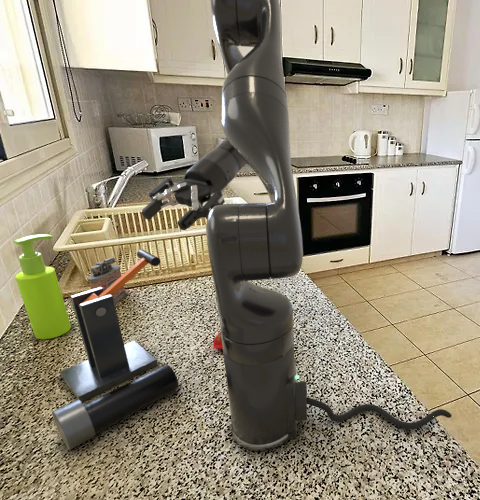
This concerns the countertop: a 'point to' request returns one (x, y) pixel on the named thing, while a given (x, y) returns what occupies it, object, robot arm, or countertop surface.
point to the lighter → (106, 277)
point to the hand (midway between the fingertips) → (162, 221)
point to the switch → (128, 274)
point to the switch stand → (103, 348)
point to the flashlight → (112, 406)
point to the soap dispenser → (41, 292)
